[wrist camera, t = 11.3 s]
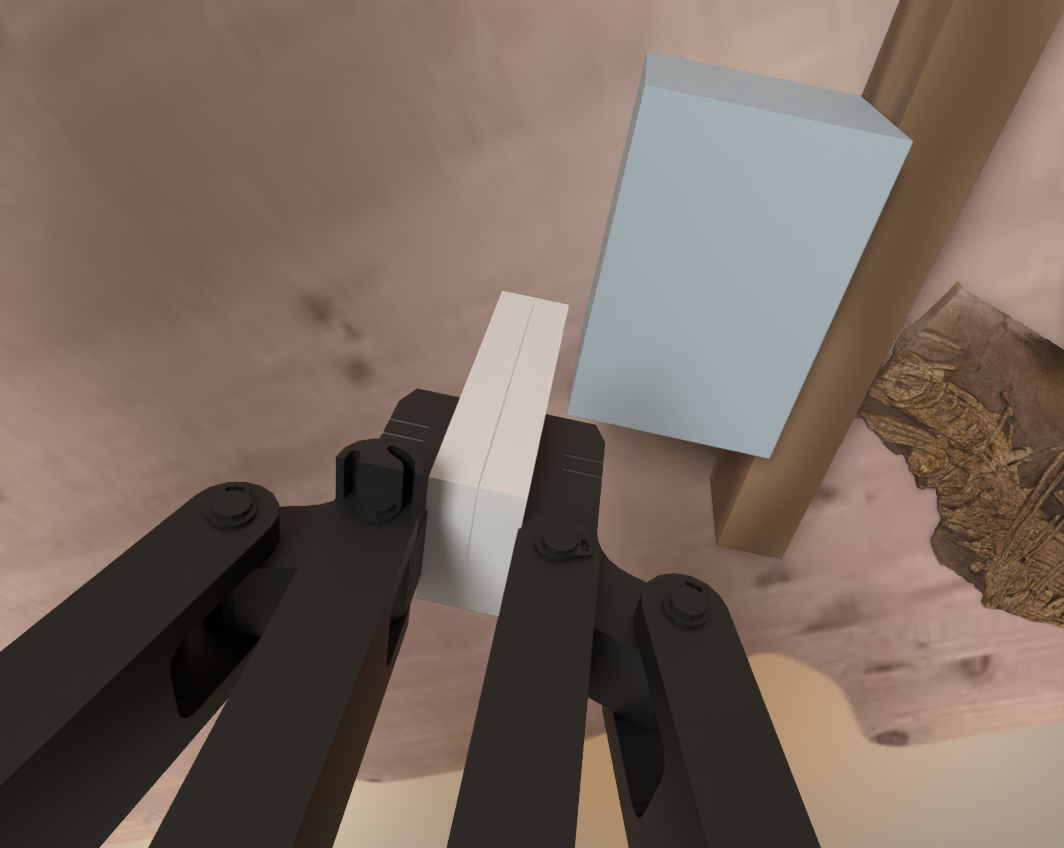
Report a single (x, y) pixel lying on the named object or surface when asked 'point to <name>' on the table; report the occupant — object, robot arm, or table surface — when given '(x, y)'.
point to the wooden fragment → (983, 446)
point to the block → (727, 250)
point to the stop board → (891, 238)
